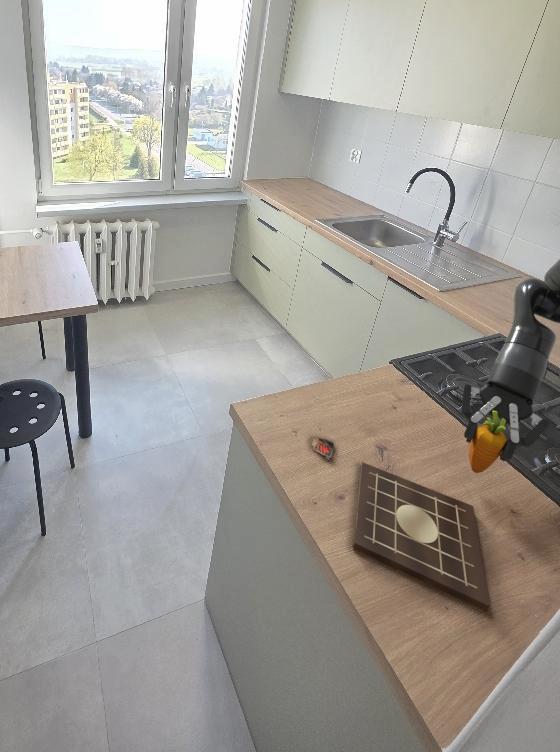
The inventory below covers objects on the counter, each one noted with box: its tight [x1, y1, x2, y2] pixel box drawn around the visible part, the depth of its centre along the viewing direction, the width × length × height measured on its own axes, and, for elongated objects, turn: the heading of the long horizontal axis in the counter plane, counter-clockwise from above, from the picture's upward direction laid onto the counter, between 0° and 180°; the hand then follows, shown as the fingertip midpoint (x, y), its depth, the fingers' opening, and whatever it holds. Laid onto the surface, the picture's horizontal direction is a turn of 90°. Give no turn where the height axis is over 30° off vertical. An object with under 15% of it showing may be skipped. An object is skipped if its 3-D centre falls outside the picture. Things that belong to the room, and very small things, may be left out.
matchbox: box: [311, 437, 335, 461], centre depth 92 cm, size 5×5×1 cm
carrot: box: [468, 411, 508, 474], centre depth 81 cm, size 5×5×15 cm
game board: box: [352, 461, 491, 612], centre depth 77 cm, size 20×18×2 cm
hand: (485, 450), depth 80 cm, fingers closed on carrot, 5 cm apart
